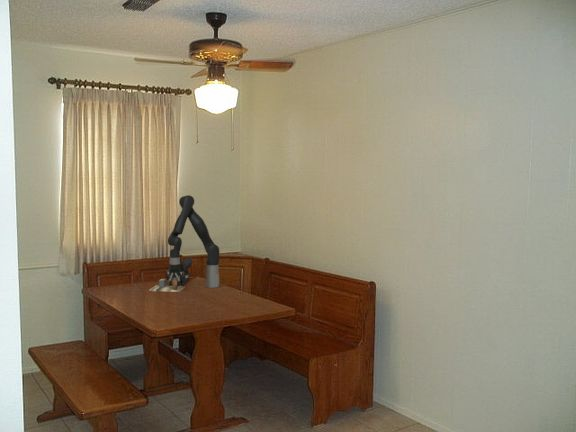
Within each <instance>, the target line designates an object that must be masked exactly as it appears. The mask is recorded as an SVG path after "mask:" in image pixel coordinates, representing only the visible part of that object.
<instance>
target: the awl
mask: <svg viewBox="0 0 576 432" xmlns="http://www.w3.org/2000/svg"><path fill="white" fill-rule="evenodd" d="M171 281H172V290H177V286H178V279H177V278H176V277H174V278H172V280H171Z"/></svg>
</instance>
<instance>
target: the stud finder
mask: <svg viewBox="0 0 576 432" xmlns="http://www.w3.org/2000/svg"><path fill="white" fill-rule="evenodd" d="M167 282H168V281H167V279H166V278H160V279H158V285H159V287H161V288H164V287H166V286H168V285H167Z"/></svg>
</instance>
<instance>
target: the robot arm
mask: <svg viewBox="0 0 576 432" xmlns="http://www.w3.org/2000/svg"><path fill="white" fill-rule="evenodd" d="M178 200H179V201H178V202H179V206H180V207H181V211H180V213H179V215H178V218H177V219H176V220H175V223H174V226H173V230H172V231H171V233H170V234H169V236H168V238H167V244H168V245H169V246H171V247H173V248H172V249H170V251H169V269H170V271H169V272H167V271H166V272H165V279H166V281H168V284H169V285H168V286H172V279H173V277H177V286H182V284H181V280H183V277H184V276H185V272H181V271H180V262H181V259H180V254H181V253H180V251H181V247H182V242H183V241H182V238H181V237H179V235H182V234H183V232H184V230H185V226H186V223H187V221H188V220H189V223H190V224H191V226H192V228H193V230H194V231H195V233H196V235H197V236H198V238H199V239H200V241H201V242H202V245H203V247H204V250H205V252H206V254H207V259H206V282H205V283H206V288H211V289H212V288H213V289H214V288H219V286H220V274H219V263H220V247H219V246H218V245H217V244H215V243H214V241H213V239H212V238H211V236H210V233H209V229H208V227H207V225H206V223H205V221H204V219H203V218H202V217H201V216H200V215H199V213H197V212H196V211H195V210H194V208H193V206H194V204H195V199H194V197H193V196H192V195H190V194H189V195H188V194H187V195H183V196H182V197H179V199H178ZM169 273H170V275H171V276H169V275H168V274H169ZM180 273H181V279H180V276H179V274H180Z"/></svg>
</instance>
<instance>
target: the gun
mask: <svg viewBox="0 0 576 432" xmlns="http://www.w3.org/2000/svg"><path fill="white" fill-rule="evenodd" d="M193 263H194V261H193V259H192V258H191V257H188V256H187V257H186V258H184V259H183V260H180V271H181V272H184V274H185V275H184V277H183V280H181V285H185V284H186V283H187V281H188V279H189V278H190V276H191V274H190V271H189V268H191V267H192V265H193ZM169 271H170V268H168V269H167V270H166V272H169ZM168 275H169V277H170V276H171V275H170V273H169V274H168ZM179 276H180V279H181V273H180V274H179ZM173 278H174V277H173ZM173 278H172V279H173ZM176 278H177V277H176Z"/></svg>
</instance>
